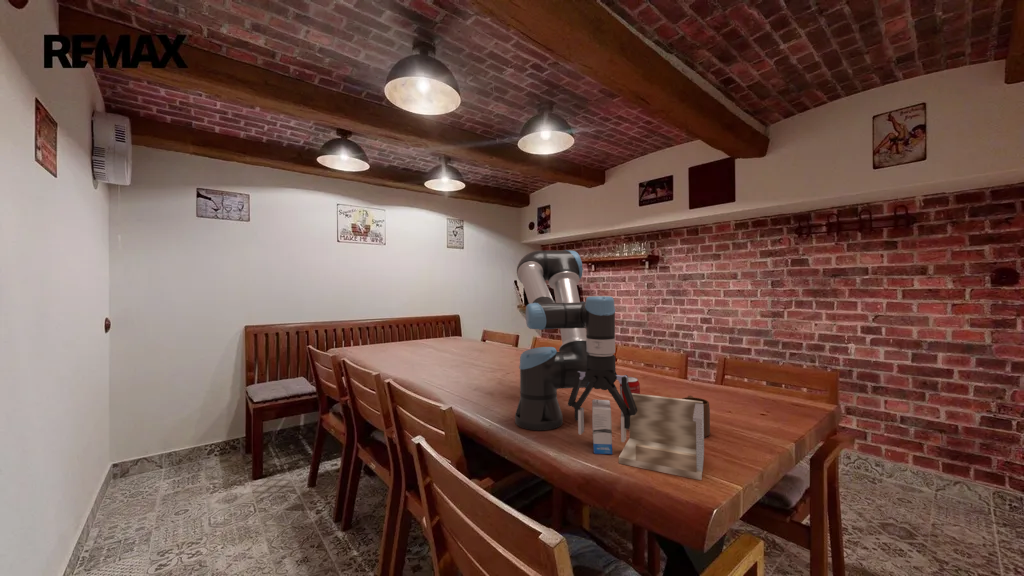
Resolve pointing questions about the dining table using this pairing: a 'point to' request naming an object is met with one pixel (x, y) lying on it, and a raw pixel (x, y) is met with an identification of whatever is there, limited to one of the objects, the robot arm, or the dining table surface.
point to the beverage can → (634, 388)
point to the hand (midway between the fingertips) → (601, 436)
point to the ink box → (601, 426)
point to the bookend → (699, 435)
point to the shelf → (662, 436)
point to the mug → (706, 414)
